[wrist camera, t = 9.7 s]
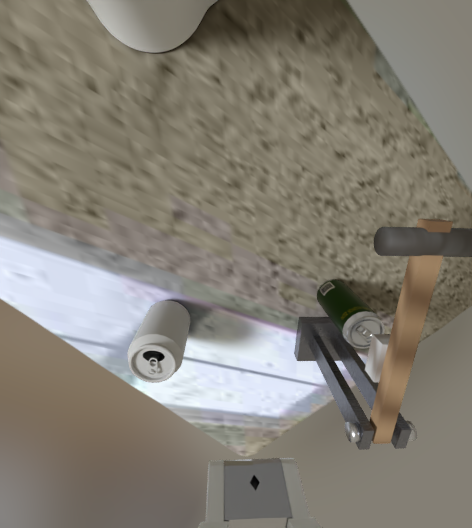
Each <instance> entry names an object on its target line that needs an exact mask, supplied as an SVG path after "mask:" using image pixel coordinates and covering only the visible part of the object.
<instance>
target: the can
mask: <svg viewBox="0 0 472 528" xmlns="http://www.w3.org/2000/svg"><path fill="white" fill-rule="evenodd" d="M189 326H190V315H189V313H188V311H187V309H186V308H185V307H184V306H183V305H181V304H179V303H177V302H174V301H170V300H168V301H160V302H157V303H155V304H154V305H153V306H151V307H150V309H149V310H148V312H147V314H146V316H145V318H144V320H143V322H142V323H141V325H140V327H139V329H138V331H137V333H136V335H135V337H134V339H133V341H132V343H131V345H130V347H129V349H128V360H129V367H130V370H131V371H132V373H133V374H134V375H135V376H136V377H138V378H139V379H141V380H143V381H146V382H152V383H154V382H162V381H165V380H167V379H168V378H170V377H171V376H172V375H173V374H174V373H175V372H176V371H177V370H178V369H179V367H180V366H181V363H182V360H183V355H184V350H185V346H186V341H187V336H188V331H189Z"/></svg>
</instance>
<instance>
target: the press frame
mask: <svg viewBox="0 0 472 528" xmlns="http://www.w3.org/2000/svg"><path fill="white" fill-rule="evenodd" d="M294 354H295V357H296V359H297V361H316V362H317V364H318V366H319V368H320V370H321V372H322V374H323V376H324V378H325V380H326V382H327V384H328V386H329V388H330V391H331V393H332V395H333V397H334V399H335V401H336V403H337V405H338V407H339V409H340V411H341V413H342V415H343V417H344V419H345V421H346V423H345V432H346V436H347V438H348V440H349V441H350V442H356V444H357V446H358V448H359V449H369V447H370V444H371V441H372V437H373V434H374V429H373V427H372V426H371V424H370V422H369V421H368V419H367V417H366V415H365V414H364V412H363V410H362V408H361V407H360V405H359V403H358V401H357V400H356V398H355V396H354V394H353V393H352V391H351V389H350V387H349V386H348V384H347V382H346V381H345V379H344V377H343V375H342V374H341V372H340V370H339V368H338V367H337V365H336V363H335V361H342V362H343V364H344V366H345V367H346V369H347V370H348V372H349V374H350V375H351V377H352V379H353V380H354V382H355V383H356V385H357V387H358V388H359V390H360V392H361V393H362V395H363V396H364V398H365V400H366V401H367V403H368V405H369V406H370V408H371V410H372V409H373V405H374V401H375V397H376V393H377V388H378V384H379V383H378V382H373V380H372V379H371V378H370V376H369V375H368V374H367V372H366V371H365V367H366V365H365V364H364V363H363V361H362V360H361V358H360V357H359V356H358V354H357V353H356V352H355V350H354V349H353V346H352V345H351V344H350V343H348V342H347V341H346V340H345V339H344V337H343V336H342V335H341V333H340V332H339V330H338V329H337V328H336V326H335V325H334V323H333V322H332V320H331V319H330V318H329V317H299V322H298V329H297V337H296V345H295V352H294ZM416 439H417V432H416V429H415V427H414V425H413V424H412V423H411V422H410V421H405V420H404V418H403V417H402V416H401V414H400V413H399V414H398V417H397V421H396V425H395V428H394V432H393V435H392V439H391V442H392V444H393V445H394V447H395V448H405V447H406V445H407V442H408V441H411V440H413V441H414V440H416Z"/></svg>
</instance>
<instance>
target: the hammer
mask: <svg viewBox="0 0 472 528" xmlns="http://www.w3.org/2000/svg"><path fill="white" fill-rule="evenodd" d="M452 223H453V222H451V221H446V220H440V219H418V223H417V227H416V228H414V227H381V228H379V229H378V230H377V232H376V234H375V237H374V248H375V251H376V253H377V254H378V255H381V256H409V260H408V265H407V269H406V273H405V277H404V281H403V285H402V289H401V294H400V298H399V302H398V306H397V310H396V314H395V318H394V322H393V327H392V331H391V334H373V335H372V339H371V344H370V348H369V353H368V358H367V362H366V367H365V371H366V372H367V374H368V375H369V376H370V378H371V379H372V380H373V382H379V384H378V388H377V393H376V397H375V401H374V405H373V409H372V413H371V417H370V424H371V426H372V427H373V429H374V434H373V437H372V441H373V443H374V444H380V443H390V442H391V439H392V435H393V432H394V428H395V425H396V421H397V417H398V414H399V410H400V407H401V403H402V400H403V396H404V392H405V389H406V386H407V382H408V379H409V375H410V371H411V368H412V365H413V361H414V358H415V354H416V350H417V347H418V343H419V340H420V336H421V333H422V329H423V326H424V322H425V319H426V315H427V312H428V308H429V305H430V301H431V298H432V294H433V290H434V287H435V283H436V280H437V276H438V273H439V269H440V266H441V262H442V259H443V257H472V229H464V228H451V227H452Z"/></svg>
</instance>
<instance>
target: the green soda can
mask: <svg viewBox="0 0 472 528" xmlns="http://www.w3.org/2000/svg"><path fill="white" fill-rule="evenodd" d="M317 300H318V302H319V304H320V305H321V306H322V308H323V309H324V311H325V312H326V313H327V315H328V316H329V318H330V319H331V320H332V322H333V323H334V325H335V326H336V328H337V329H338V330H339V332H340V333H341V335H342V336H343V337H344V339H345V340H346V341H347V342H348V343H350V344H351V345H352V346H354V347H356V348H361V349H364V348H369V347H370V344H371V339H372V335H373V334H384V329H385V328H384V325H383V323H382V322H381V319H380V317H379V316H378V315H377V314H376V313H375V312H374V311H373V310H372V309H371V308H369V307H368V306H367V305H366V304H365V303H364V302H363V301H362V300H361V299H360V298H359V297H358V296H357V295H356V294H355V293H354V292H353V291H352V290H351V289H350V288H349V287H348V286H346V285H345V284H344V283H343V282H341V281H339V280H328V281H326V282H324V283H323V284H321V285H320V287H319V288H318V291H317Z"/></svg>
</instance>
